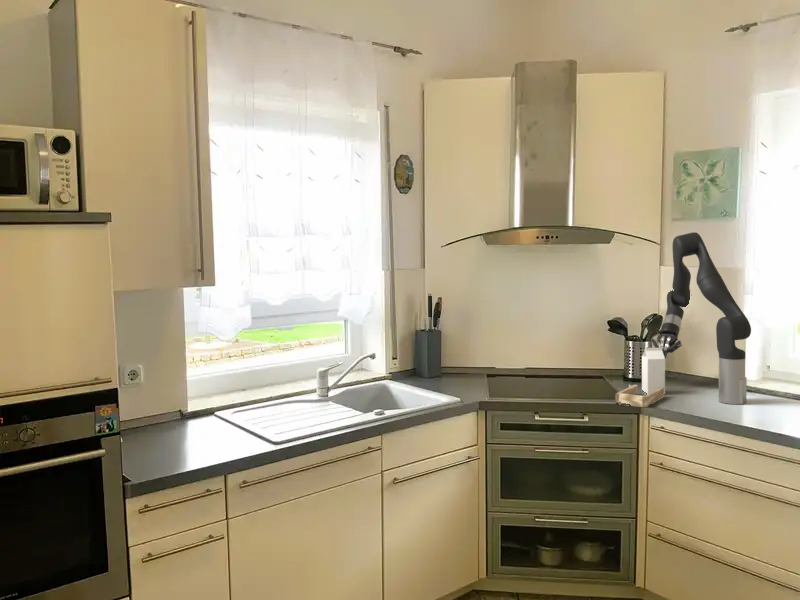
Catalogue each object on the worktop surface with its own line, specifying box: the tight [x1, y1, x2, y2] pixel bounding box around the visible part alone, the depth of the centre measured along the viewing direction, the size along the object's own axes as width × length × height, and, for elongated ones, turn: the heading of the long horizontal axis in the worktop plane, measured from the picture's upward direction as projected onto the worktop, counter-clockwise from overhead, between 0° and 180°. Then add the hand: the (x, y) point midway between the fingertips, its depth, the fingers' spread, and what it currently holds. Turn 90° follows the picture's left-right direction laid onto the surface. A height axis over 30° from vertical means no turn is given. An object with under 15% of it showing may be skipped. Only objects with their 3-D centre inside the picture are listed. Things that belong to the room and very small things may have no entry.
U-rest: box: [614, 384, 665, 408], centre depth 270 cm, size 12×20×4 cm, turn 141°
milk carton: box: [641, 347, 666, 395], centre depth 282 cm, size 7×7×19 cm
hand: (661, 358), depth 290 cm, fingers closed
